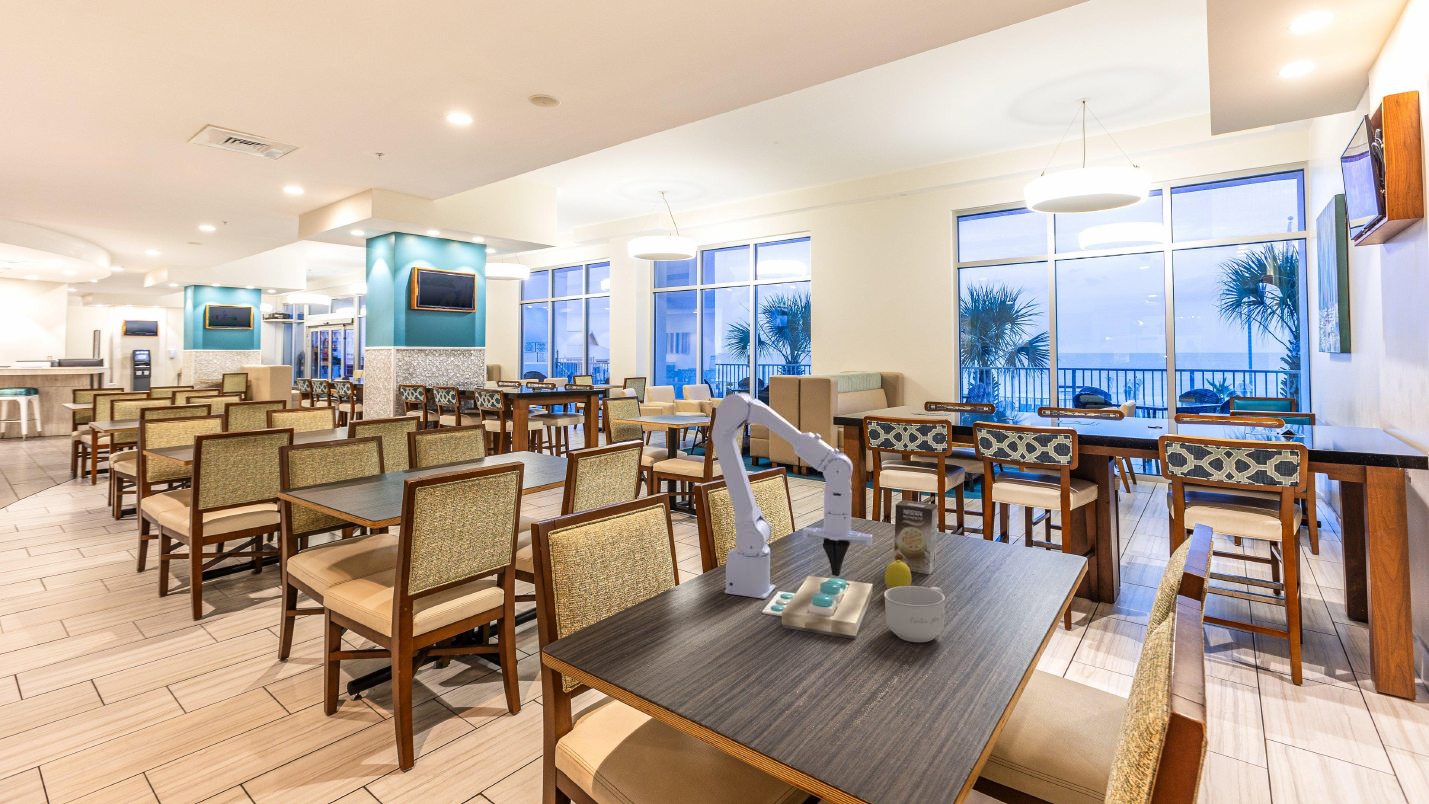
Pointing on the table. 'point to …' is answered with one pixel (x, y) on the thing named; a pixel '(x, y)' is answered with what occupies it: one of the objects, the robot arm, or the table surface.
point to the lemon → (897, 575)
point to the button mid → (832, 590)
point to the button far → (840, 582)
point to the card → (778, 603)
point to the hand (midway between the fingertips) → (836, 574)
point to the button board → (840, 624)
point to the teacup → (915, 612)
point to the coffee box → (916, 535)
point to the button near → (822, 604)
